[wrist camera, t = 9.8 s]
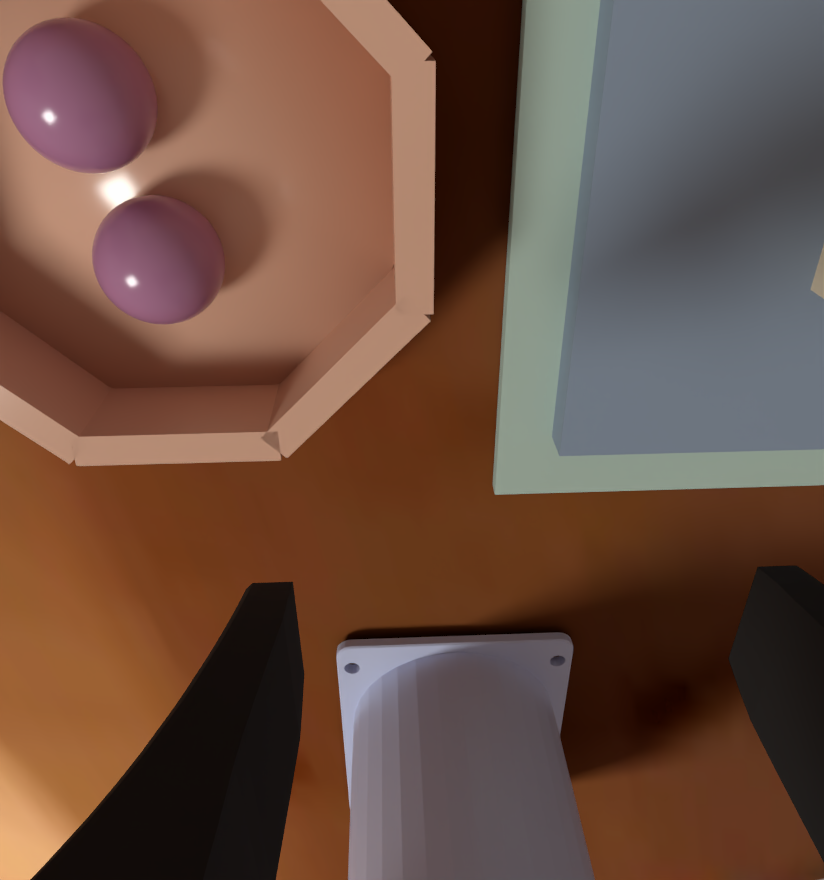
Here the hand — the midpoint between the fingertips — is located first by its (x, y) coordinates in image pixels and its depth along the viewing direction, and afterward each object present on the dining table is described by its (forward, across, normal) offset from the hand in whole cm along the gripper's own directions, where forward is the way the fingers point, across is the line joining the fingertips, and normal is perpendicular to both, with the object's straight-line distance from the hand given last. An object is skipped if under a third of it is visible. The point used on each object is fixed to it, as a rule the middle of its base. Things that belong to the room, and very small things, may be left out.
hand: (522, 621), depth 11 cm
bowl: (+9, +7, -5) cm, 13 cm away
